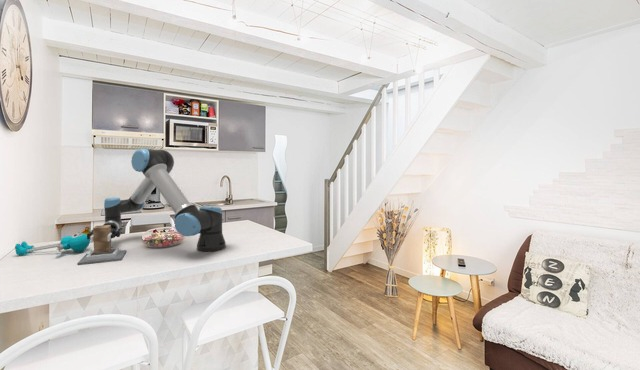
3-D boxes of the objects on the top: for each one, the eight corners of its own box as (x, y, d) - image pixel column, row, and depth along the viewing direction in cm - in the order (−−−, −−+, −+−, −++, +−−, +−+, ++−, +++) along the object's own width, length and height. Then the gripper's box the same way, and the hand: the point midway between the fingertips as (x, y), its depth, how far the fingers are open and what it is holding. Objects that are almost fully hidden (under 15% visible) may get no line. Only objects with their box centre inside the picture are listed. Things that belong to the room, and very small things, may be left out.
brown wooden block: (111, 248, 153) (110, 224, 152) (109, 251, 148) (108, 227, 147) (97, 249, 150) (95, 225, 149) (93, 253, 145) (92, 228, 144)
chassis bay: (126, 251, 160) (126, 246, 159) (121, 260, 146) (121, 254, 146) (86, 255, 152) (86, 249, 152) (77, 265, 139) (77, 258, 139)
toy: (32, 237, 163) (96, 227, 171) (36, 255, 164) (99, 244, 172) (1, 249, 142) (75, 236, 149) (6, 269, 143) (79, 256, 150)
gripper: (130, 234, 169) (123, 244, 148) (88, 237, 161) (75, 249, 140) (130, 220, 168) (123, 229, 147) (87, 223, 160) (74, 233, 139)
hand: (99, 239), depth 144 cm, fingers closed on brown wooden block, 6 cm apart
